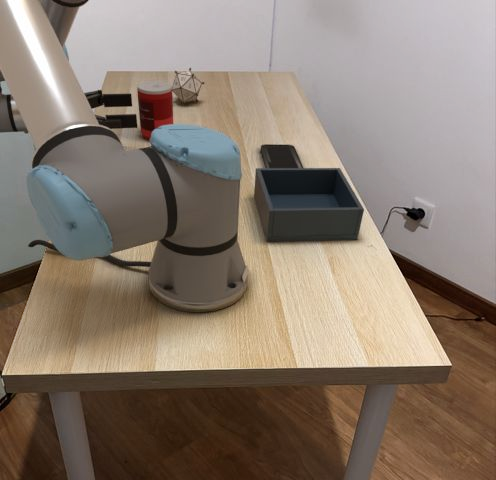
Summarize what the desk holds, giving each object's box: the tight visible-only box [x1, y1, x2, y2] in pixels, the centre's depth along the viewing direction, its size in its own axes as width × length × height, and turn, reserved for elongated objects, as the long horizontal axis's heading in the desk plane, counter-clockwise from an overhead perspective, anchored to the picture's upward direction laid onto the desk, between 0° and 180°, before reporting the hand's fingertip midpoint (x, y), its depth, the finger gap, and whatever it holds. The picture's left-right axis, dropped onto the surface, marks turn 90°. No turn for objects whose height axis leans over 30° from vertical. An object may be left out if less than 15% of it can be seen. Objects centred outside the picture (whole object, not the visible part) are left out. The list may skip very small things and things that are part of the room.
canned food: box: [136, 79, 174, 141], centre depth 123 cm, size 8×8×11 cm
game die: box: [172, 67, 206, 106], centre depth 142 cm, size 9×8×10 cm
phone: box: [260, 143, 304, 168], centre depth 118 cm, size 8×1×15 cm
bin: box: [253, 167, 365, 243], centre depth 99 cm, size 17×17×6 cm
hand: (134, 110), depth 122 cm, fingers open, 13 cm apart
